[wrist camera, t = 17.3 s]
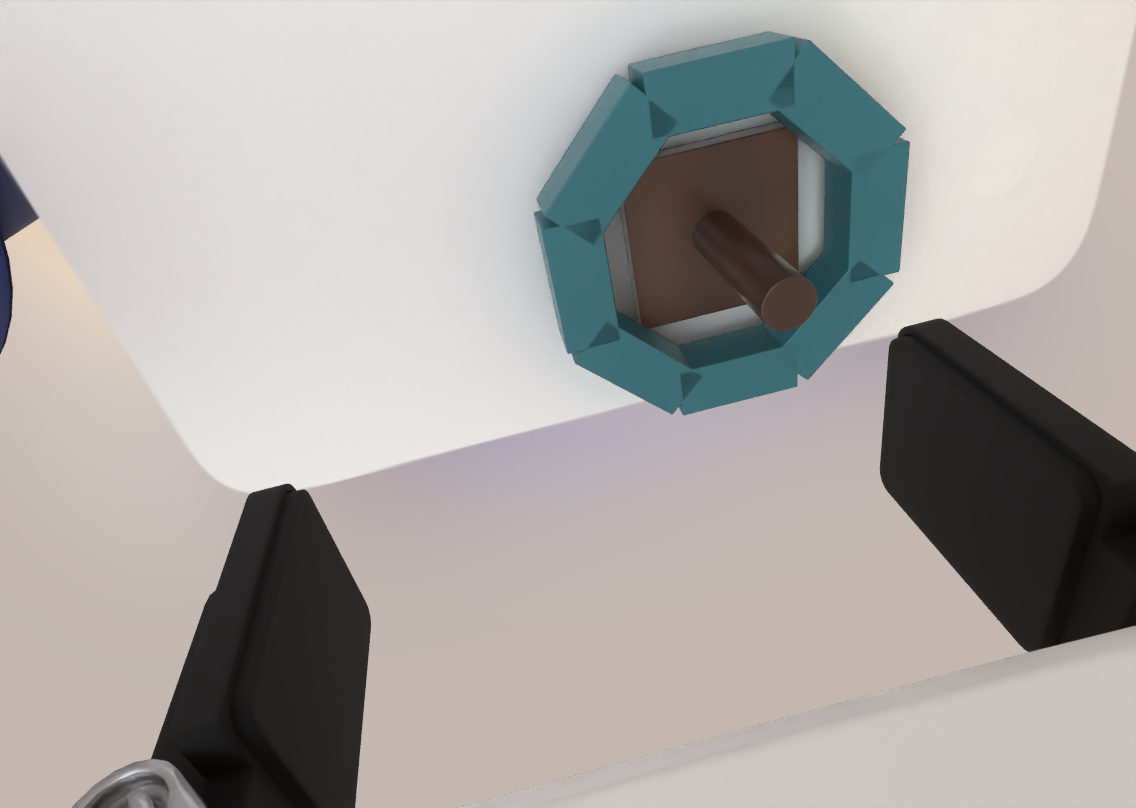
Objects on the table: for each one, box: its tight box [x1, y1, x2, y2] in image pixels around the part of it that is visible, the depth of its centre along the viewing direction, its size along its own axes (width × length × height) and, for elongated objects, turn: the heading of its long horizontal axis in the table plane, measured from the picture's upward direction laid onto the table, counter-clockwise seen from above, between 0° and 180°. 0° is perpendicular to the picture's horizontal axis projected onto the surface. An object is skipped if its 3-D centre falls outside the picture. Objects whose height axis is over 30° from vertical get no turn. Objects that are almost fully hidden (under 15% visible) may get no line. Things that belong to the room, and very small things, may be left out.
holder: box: [620, 122, 817, 331], centre depth 33 cm, size 9×9×10 cm
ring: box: [534, 32, 910, 415], centre depth 35 cm, size 18×18×3 cm
